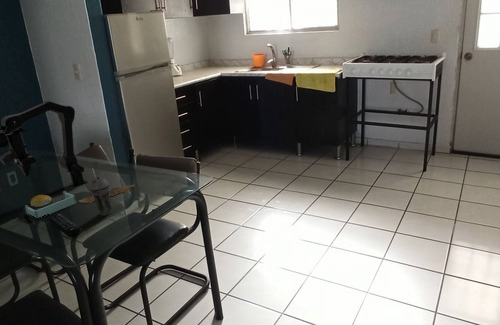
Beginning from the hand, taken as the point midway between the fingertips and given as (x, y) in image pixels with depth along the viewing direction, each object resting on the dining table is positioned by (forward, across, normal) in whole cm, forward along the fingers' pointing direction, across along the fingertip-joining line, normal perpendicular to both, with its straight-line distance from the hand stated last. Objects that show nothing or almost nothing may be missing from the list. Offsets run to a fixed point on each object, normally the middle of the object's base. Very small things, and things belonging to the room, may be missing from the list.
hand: (27, 176), depth 188 cm
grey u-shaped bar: (+12, +20, 0) cm, 23 cm away
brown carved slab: (+13, +28, +22) cm, 38 cm away
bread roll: (+12, +8, 0) cm, 15 cm away
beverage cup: (+12, +48, +10) cm, 51 cm away
